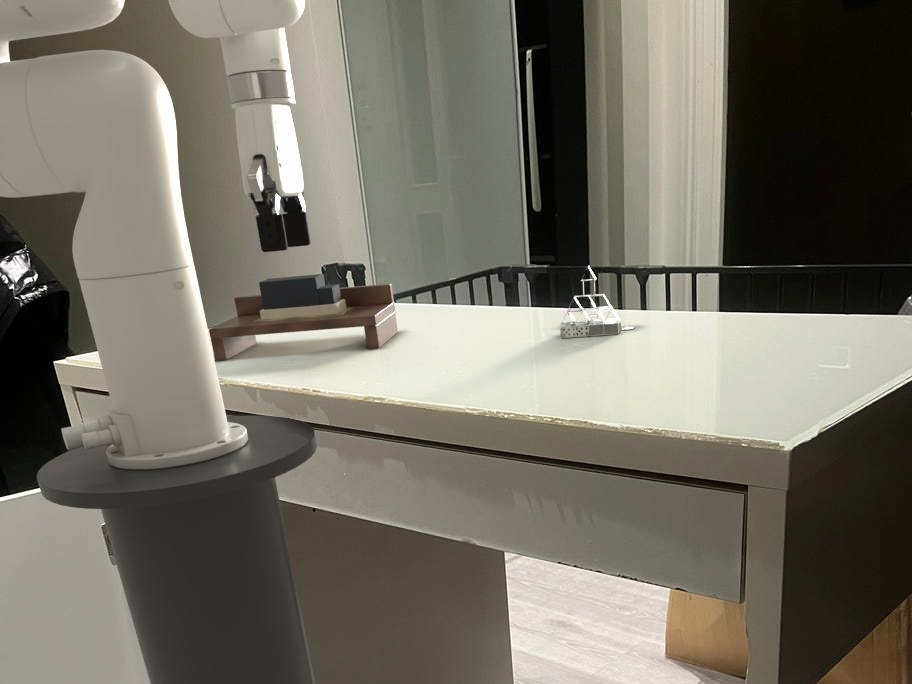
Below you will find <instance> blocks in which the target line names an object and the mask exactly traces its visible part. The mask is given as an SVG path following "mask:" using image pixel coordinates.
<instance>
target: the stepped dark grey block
mask: <svg viewBox="0 0 912 684" xmlns="http://www.w3.org/2000/svg"><path fill="white" fill-rule="evenodd" d="M325 280H326V279H325V275H324V273H318V274H307V275H296V276H295V275H293V276H284V277H273V278H267V279H264V280H262V281H259V282H258V286H259V292H260V295H261V297H262V302H263V308H264V309H262V310H260V316H261V320H268V319H281V318H293V317H305V316H317V315H329V314H338V313H340V312H341V311H343V310H345V309H346V303H345V299H342V300H341V295H340V289H339V288H340V284H339V283H334V284H326V281H325Z"/></svg>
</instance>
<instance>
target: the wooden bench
mask: <svg viewBox="0 0 912 684" xmlns="http://www.w3.org/2000/svg"><path fill="white" fill-rule="evenodd" d="M339 289H340V295H341V300H342V299H345V303H346V309H345V310H343V311H341V312H340V313H338V314H329V315H317V316H305V317H293V318H281V319H268V320H261V316H260V310H262V309H264V308H263V302H262V297H261V294H252V295H242V296H241V295H240V296H235V297H234V298H233V299H234V305H235V310H236V314H237V315H236V316H235V317H233V318H231V319H228V320H226V321H224V322H221V323H219V324H217V325H214V326H213V327H211V328H208V333H209V337H210V342H211V347H212V351H213V356H214V361H215V362H219V361H227V360H229V359H231V358H233V357H235V356H237V355H238V354H240V353H242V352H243V351H246V350H247V349H249V348H251V347H253V346H255V345H257V343H258V342H257V337H256V336H261V335H274V334H284V333H285V334H286V333H297V332H299V333H301V332H311V331H322V330H323V331H324V330H335V329H338V330H339V329H350V328H360V327H361V328H362V327H363V331H364V335H365V336H364V337H365V345H366V349H367V350H377V349H380V348H381V347H382V346H383V345H384V344H386V343H387V342H388V341H390V340H391V339H392V338H393V337H395V335H396V334H397V333H399V331H398V323H397V322H398V321H397V315H396V306H395V299H394V292H393V283H381V284H370V285H357V286H356V285H355V286H344V287H339Z"/></svg>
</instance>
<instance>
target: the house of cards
mask: <svg viewBox="0 0 912 684" xmlns="http://www.w3.org/2000/svg"><path fill="white" fill-rule="evenodd" d="M587 269H588V270H589V272H590V274H591V275H592V277H593V278H588V279H584V276H585V275H583V277H582V278H581V280H580V282H582V294H581V295H574V296H573V299H572V300H571V301H570V304H569V306H568V308H567V310H566V314H567V315H568V317H569V318H570V320H571V321H564V320H565V319H566V316H567V315H565V316H564V317H563V320H562V322H560V324H559V328H560V337H561V339H567V338H568V339H569V338H581V337H596V336H611V335H619V334H620V333H621V332H622V331H625V330H633V329H634V328H635V326H625V327H623V328H622V319H621V318H620V317H619V315H618V313H617V312H616V310H615V309H614V307H613V306H612V305H611V304H610V302H609V300H608V298H607V296H606V295H605V293H598V294H597V293H596V281H597V277H596V275H595V274H594V272H593V271H592V269H591V267H590V265H588V266H587ZM589 281H593V288H594V289H593V290H594V291H593V292H594V294H585V282H589ZM582 297H583V298H584V297H585V298H586V297H587V298H586V300H585V303H584V305H583V306H585V305H586V303H587V300H588V299H589V300H590V303H591V305H592V307H589V308H588V307H587V308H584V307H583V306H581V304H580V302H579V300H578V299H577V298H582ZM592 297H603V298H604V299H605V301H606V303H607V305H606V306H597V305H596V303H595V302H594V301H593V299H592ZM573 300H574V301H575V302H576V304H577V305H578V307H577V308H570V307H571V305H572V304H571V303H573ZM590 310H591V311H593V310H594V313H593V314H587V312H586V311H590ZM606 310H607V311H611V312H612V313H613V314H614V316H615V318H608V316H609V313H607V315H606V317H605V316H604V315H603V313H602V312H601V311H606ZM578 312H579V313H581V314H583V316H584V320H579V321H578V320H577V319H575V317H574V315H573V314H572V313H578ZM595 316H596V317H598V316H599V317H600V319H598V318H596V319H594V317H595ZM590 317H591V319H590Z"/></svg>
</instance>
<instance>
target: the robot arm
mask: <svg viewBox="0 0 912 684" xmlns="http://www.w3.org/2000/svg"><path fill="white" fill-rule="evenodd" d="M125 1H126V0H0V198H10V199H11V198H27V197H38V196H39V197H40V196H49V195H58V194H59V195H60V194H66V193H85V194H84V199H83V202H82V205H81V208H80V211H79V214H78V216H77V219H76V223H75V226H74V230H73V236H72V248H71V249H72V258H73V263H74V268H75V270H76V271H75V272H76V276H77V279H78V281H79V284H80V289H81V293H82V296H83V301H84V304H85V308H86V312H87V315H88V321H89V323H90V327H91V331H92V334H93V338H94V342H95V347H96V350H97V353H98V358H99V361H100V364H101V368H102V373H103V377H104V380H105V384H106V388H107V391H108V395H109V399H110V402H111V406H110V407H106V408H105V409H104V410H105V414H106V416H101V417H97V418H96V419H97V420H96V421H97V422H94V423H89V424H84V425H83V424H78V425H73V426H67V427H62V428H60V430H61V435H62V438H63V441H64V444H65V447H66V449H67V451H70V450H73V449H76V448H81V447H85V449H91V448H96V447H100V446H102V445H105V446H108V445H111V446H110V447H109V448H108V449H107V451H106V455H107V458H108V462H109V464H111V465H112V466H114V467H117V468H120V469H127V470H154V469H165V468H173V467H179V466H185V465H191V464H195V463H200V462H204V461H208V460H211V459H215V458H218V457H221V456H224V455H227V454H229V453H231V452H234V451H236V450H238V449H239V448H241V447H243V446H244V445H245V444H246V443H247V441H248V435H247V429H246V428H245V427H244V426H242V425H240V424H237V423H232V422H227V417H228V416H227V413H226V407H225V403H224V398H223V393H222V390H221V389H222V388H221V385H220V379H219V376H218V371H217V366H216V361H215V357H214V352H213V348H212V343H211V338H210V333H209V328H208V324H207V319H206V313H205V310H204V304H203V301H202V295H201V291H200V286H199V281H198V276H197V272H196V268H195V263H194V259H193V253H192V249H191V244H190V239H189V235H188V229H187V223H186V218H185V213H184V206H183V200H182V191H181V183H180V171H179V156H178V155H179V154H178V131H177V122H176V115H175V109H174V104H173V101H172V97H171V94H170V91H169V90H168V87H167V85H166V83H165V81H164V80H163V78H162V77H161V75H160V74H159V72H157V69H155V68H154V67H153V66H152V65H150V64H149V63H148V62H146V60H145V59H144V60H143V59H142V58H140V57H138V56H136V55H134V54H131V53H127V52H124V51H120V50H110V49H91V50H90V49H89V50H82V51H74V52H73V51H72V52H66V53H58V54H50V55H42V56H41V55H40V56H38V57H35V58H34V57H33V58H27V59H18V60H17V59H16V60H11V57H10V48H9V43H10V42H12V41H18V40H25V39H32V38H41V37H48V36H49V37H50V36H56V35H62V34H69V33H70V34H71V33H75V32H83V31H87V30H93V29H96V28H99V27H104V26H105V25H107V24H109V23H112V22H113V21H115V19H117V18H118V17H119V16H120V15H121V12H122V11H123V9H124V6H125ZM167 1H168V4H169V7H170V9H171V12H172V14H173V16H174V18H175V19H176V21H177V22H178V24H179V25H180V26H181V27H182V28H183V29H184V30H186V32H188V33H189V34H190V35H192V36H195V37H197V38H200V39H201V38H202V39H219V41H220V46H221V52H222V57H223V58H222V59H223V63H224V68H225V74H226V81H227V86H228V87H227V88H228V92H229V93H228V94H229V97H230V105H231V109H232V111H234V112H235V114H234V117H235V133H236V141H237V151H238V156H239V166H240V172H241V173H240V174H241V178H242V186H243V192H244V194H245V196H246V197H247V198H248V199H250V200H251V201H252V203H253V213H254V216H255V221H256V226H257V232H258V238H259V244H260V249H261V251H262V252H263V253H271V252H283V251H287V250H288V248H296V247H305V246H307V247H308V246H310V245H311V242H312V241H311V236H310V229H309V222H308V215H307V207H306V203H305V200H304V197H305V195H304V194H305V193H304V178H303V177H304V175H303V169H302V163H301V157H300V152H299V146H298V140H297V135H296V130H295V125H294V121H293V116H292V112H291V108H290V107H293V106H296V105H297V103H296V97H295V90H294V83H293V76H292V71H291V64H290V63H291V62H290V56H289V51H288V45H287V37H286V36H287V35H286V31H285V29H286V28H289V27H291V26H293V25H295V24H296V23H297V22H298V21H299V20H300V18H301V17H302V15H303V14H304V10H305V6H306V5H305V4H306V3H305V2H306V0H167ZM280 208H281V210H282V212H283V213H280Z"/></svg>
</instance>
